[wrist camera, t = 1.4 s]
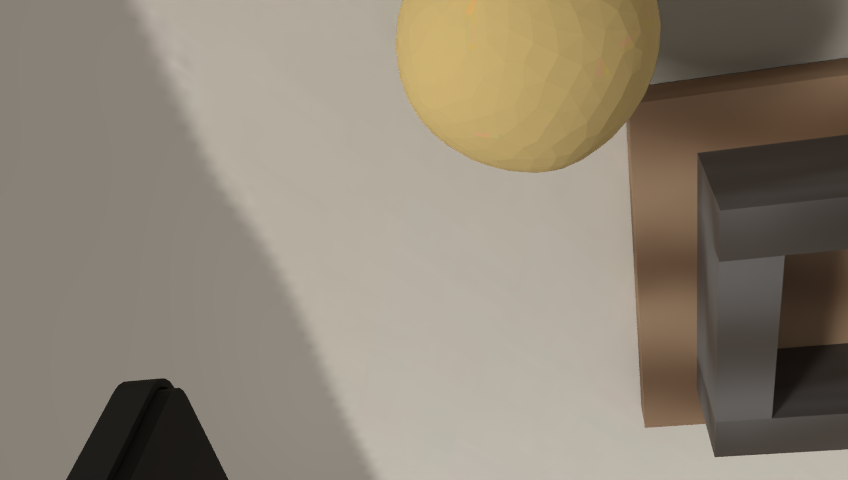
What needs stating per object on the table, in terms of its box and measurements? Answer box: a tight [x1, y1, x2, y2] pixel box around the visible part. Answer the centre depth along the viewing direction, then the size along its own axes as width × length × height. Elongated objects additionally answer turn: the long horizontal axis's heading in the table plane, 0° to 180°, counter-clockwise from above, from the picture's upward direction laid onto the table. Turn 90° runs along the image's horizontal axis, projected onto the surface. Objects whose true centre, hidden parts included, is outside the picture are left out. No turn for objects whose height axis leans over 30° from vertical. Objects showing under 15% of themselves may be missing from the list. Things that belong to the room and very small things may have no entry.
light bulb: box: [396, 0, 661, 173], centre depth 21 cm, size 6×6×10 cm
